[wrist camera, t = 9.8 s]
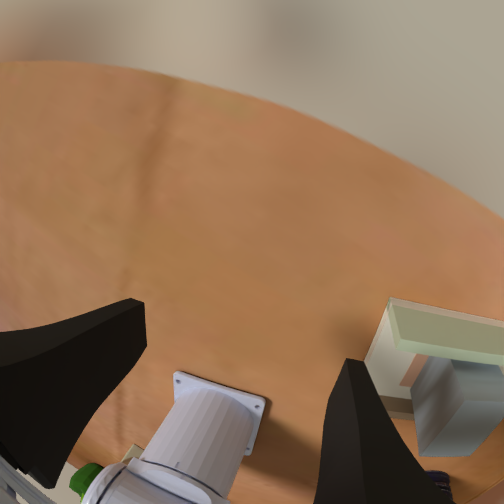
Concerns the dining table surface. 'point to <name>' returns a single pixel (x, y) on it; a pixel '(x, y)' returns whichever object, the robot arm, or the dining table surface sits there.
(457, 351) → the open-front display tray
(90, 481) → the bell pepper
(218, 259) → the dining table surface
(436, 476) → the storage jar
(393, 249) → the dining table surface
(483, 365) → the slate cabinet block
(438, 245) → the dining table surface
